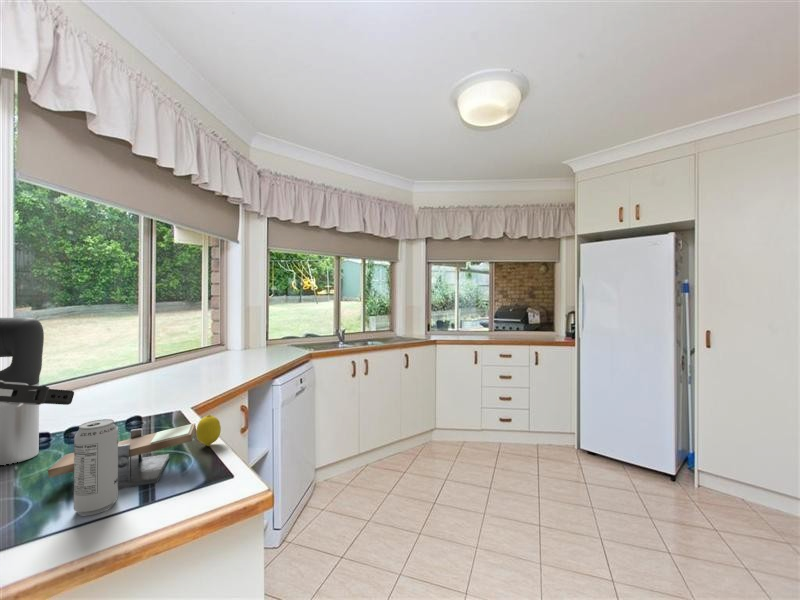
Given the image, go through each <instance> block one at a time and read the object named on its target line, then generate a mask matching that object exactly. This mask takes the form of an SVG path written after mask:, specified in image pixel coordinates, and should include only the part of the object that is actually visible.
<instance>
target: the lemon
mask: <svg viewBox="0 0 800 600" xmlns="http://www.w3.org/2000/svg"><path fill="white" fill-rule="evenodd" d="M221 427H222V426H221V423H220V420H219V419H218V418H217V417H216V416H214V415H211V414H207V415H206V416H204V417H202V418H201V419H200V420H199V421H198V423H197V425H196V431H195V434H196V438H197V441H198V442H199V443H201V444H203V445H205V446H206V447H210V446H211V445H212V444H213V443H215V442H217V440H218V439H219V437H220V435H221V429H222V428H221Z"/></svg>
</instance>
